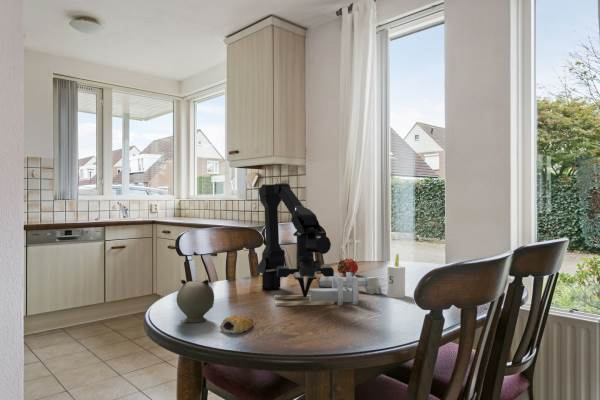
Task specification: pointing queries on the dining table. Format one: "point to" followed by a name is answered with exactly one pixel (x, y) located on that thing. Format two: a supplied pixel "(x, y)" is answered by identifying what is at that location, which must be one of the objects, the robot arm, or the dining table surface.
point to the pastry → (236, 324)
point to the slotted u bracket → (350, 283)
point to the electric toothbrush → (369, 283)
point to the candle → (396, 280)
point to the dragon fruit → (347, 266)
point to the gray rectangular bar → (330, 294)
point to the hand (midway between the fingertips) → (304, 296)
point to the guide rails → (299, 301)
